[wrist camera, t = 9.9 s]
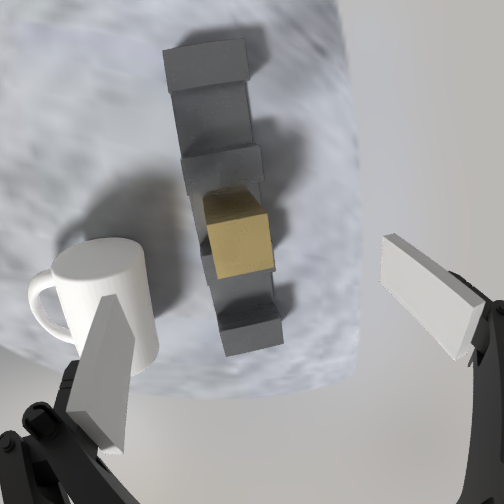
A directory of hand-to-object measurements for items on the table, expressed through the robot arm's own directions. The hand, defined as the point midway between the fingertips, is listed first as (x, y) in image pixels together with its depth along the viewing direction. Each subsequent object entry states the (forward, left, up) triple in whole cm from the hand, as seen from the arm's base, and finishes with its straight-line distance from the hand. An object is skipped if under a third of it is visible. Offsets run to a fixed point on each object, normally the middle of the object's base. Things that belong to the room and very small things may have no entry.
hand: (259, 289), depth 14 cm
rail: (0, 0, -14) cm, 14 cm away
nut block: (+1, 0, -14) cm, 14 cm away
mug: (+5, -14, -15) cm, 21 cm away
